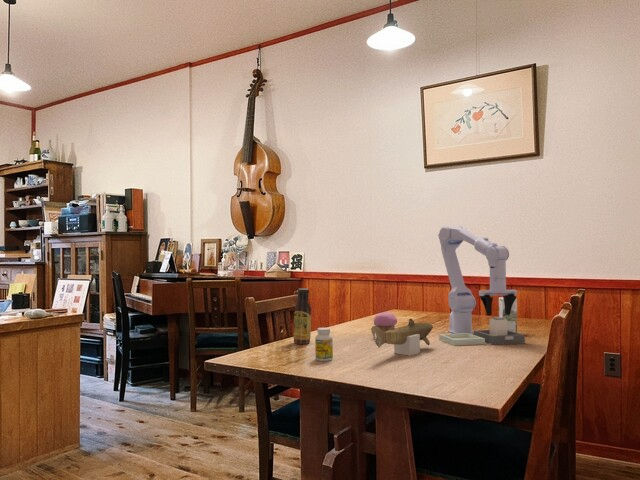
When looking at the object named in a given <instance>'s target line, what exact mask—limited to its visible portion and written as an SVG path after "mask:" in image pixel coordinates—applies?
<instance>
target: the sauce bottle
mask: <svg viewBox="0 0 640 480" xmlns="http://www.w3.org/2000/svg"><path fill="white" fill-rule="evenodd" d="M297 293H298V294H297V298H298V299H297V303H296V305H295V307H294V315H293V334H292V335H293V343H294V344H297V345H307V344H310V342H311V333H312V332H311V331H312V330H311V329H312V328H311V327H312V307H311V305H310V303H309V294H310V289H309V288H297Z"/></svg>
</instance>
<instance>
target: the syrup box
mask: <svg viewBox="0 0 640 480" xmlns="http://www.w3.org/2000/svg"><path fill="white" fill-rule="evenodd" d="M498 317H502V318H504V319H506V320H507V330H509V331H513V332H516V333H518V299H517V298H516V300H515V301H514V303H513V305H512V308H511V312H510V315H506V314H505V305H504V299H503V296H501V297H500V296H499V297H498Z"/></svg>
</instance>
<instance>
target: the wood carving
mask: <svg viewBox="0 0 640 480" xmlns="http://www.w3.org/2000/svg"><path fill="white" fill-rule="evenodd" d="M390 327H391V329H390V330H388V331H386V332H383V331H382V330H381V329H380V328H379V327H377V326H375V325H372V326H371V329H370V330H371V333H372V336H373V340H374V343H375V345H376V346H377V348H381V347H382V346H383V345H385V344H386V345H387V344H388V345H393V347H394V349H393V350H394V351H393V353H394V354H396V353H397V354H398V355H404V356H409V357H410V356H414V355H417V354H420V353H421V343H420V342H421V341H424V342H425V344H426V346H427V345H428V346H429V345H430V344H431V343H430V340H429V339H428V338H427V336H428V335H430V333H431V332H432V330H433V328H434V326H433V325H432V323H427V322H417V323H416V322H415V321H414V319H413V318H408V324H407V325H403V326H399V327H395V326H394V327H393V326H390Z"/></svg>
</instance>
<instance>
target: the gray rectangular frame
mask: <svg viewBox="0 0 640 480" xmlns="http://www.w3.org/2000/svg"><path fill="white" fill-rule="evenodd" d="M473 332H474V334H473V335H475V336H479V337H482V338H485V344H489V345H496V346H497V345H511V344H512V345H513V344H515V345H516V344H525V343H526V337H525V334H524V333H520V332H517V333H516V332H513V331H509V330H507V335H497V336H493V335H490V329H480V330H479V329H477V330H473Z"/></svg>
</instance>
